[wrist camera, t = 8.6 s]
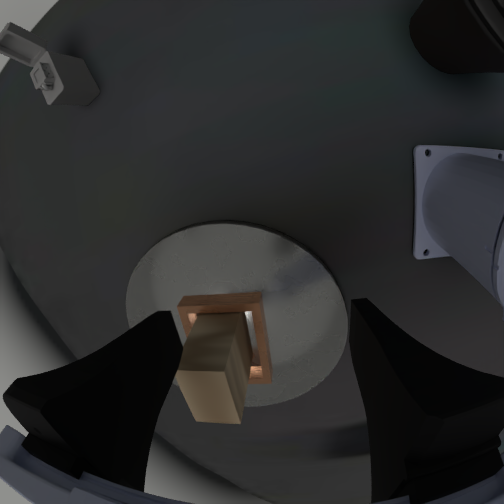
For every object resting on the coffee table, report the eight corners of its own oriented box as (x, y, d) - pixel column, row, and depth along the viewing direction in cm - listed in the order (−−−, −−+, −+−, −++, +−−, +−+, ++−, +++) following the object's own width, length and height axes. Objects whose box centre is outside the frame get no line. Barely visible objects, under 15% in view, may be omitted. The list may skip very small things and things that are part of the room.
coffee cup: (387, 68, 14) (469, 22, 5) (391, -21, 11) (444, -91, 2) (481, 109, 14) (580, 113, 5) (481, 22, 11) (559, -7, 1)
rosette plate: (345, 207, 18) (352, 217, 16) (340, 394, 25) (343, 413, 22) (105, 235, 21) (87, 246, 19) (166, 394, 28) (159, 411, 25)
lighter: (101, 92, 17) (23, 85, 9) (86, 107, 17) (8, 108, 10) (71, 36, 15) (3, 20, 7) (58, 51, 15) (-11, 40, 8)
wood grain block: (243, 301, 21) (224, 371, 14) (253, 353, 22) (240, 423, 16) (203, 303, 21) (172, 369, 15) (217, 354, 23) (196, 421, 16)
